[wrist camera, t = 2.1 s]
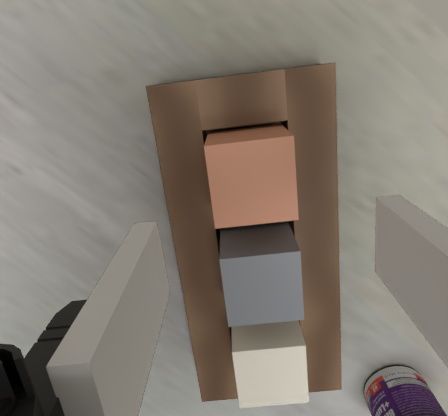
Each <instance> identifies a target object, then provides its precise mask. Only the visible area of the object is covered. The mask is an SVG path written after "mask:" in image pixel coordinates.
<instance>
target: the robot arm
mask: <svg viewBox="0 0 448 416" xmlns="http://www.w3.org/2000/svg"><path fill="white" fill-rule="evenodd" d="M375 272H376V274H377V275H378V276H379V278H380V279H381V280H382V282H383V283H384V284H385V286H386V287H387V288H388V290H389V291H390V292H391V293H392V295H393V296H394V297H395V299H396V300H397V301H398V303H399V304H400V305H401V307H402V308H403V309H404V311H405V312H406V313H407V315H408V316H409V317H410V319H411V320H412V321H413V323H414V324H415V325H416V327H417V328H418V329H419V331H420V332H421V333H422V335H423V336H424V337H425V339H426V340H427V341H428V343H429V344H430V345H431V347H432V348H433V349H434V350H435V352H436V353H437V354H438V356H439V357H440V358H441V360H442V361H443V362H444V364H445V365H446V366H447V368H448V228H447V227H446V226H444V225H443V224H441V223H440V222H438V221H437V220H436V219H434V218H433V217H431V216H430V215H428V214H427V213H425V212H424V211H423V210H421V209H420V208H418V207H417V206H415V205H414V204H412V203H411V202H410V201H408V200H407V199H405V198H404V197H402V196H401V195H392V196H383V197H376V226H375ZM169 295H170V288H169V282H168V277H167V272H166V267H165V261H164V256H163V251H162V245H161V240H160V235H159V230H158V224H157V221H152V222H143V223H134V225H133V227H132V228H131V230H130V231H129V233H128V235H127V236H126V238H125V240H124V241H123V243H122V244H121V246H120V248H119V249H118V251H117V253H116V254H115V256H114V257H113V259H112V261H111V262H110V264H109V265H108V267H107V269H106V270H105V272H104V274H103V275H102V277H101V278H100V280H99V282H98V283H97V285H96V286H95V288H94V290H93V291H92V293H91V295H90V296H89V298H88V299H87V300H80V301H72V302H70V303H69V304H68V305H67V306H65V307H64V308H63V309H61V310H60V311H59V312H58V313H56V314H55V316H54V317H53V319H52V320H51V321H50V323H49V324H48V326H47V327H46V330H45V331H43V333H42V334H41V335H40V337H39V338H38V342H37V343H35V344H34V345H33V347H32V348H31V349H30V351H29V352H28V354H27V355H26V356H25V358H23V355H22V353H21V350H20V349H19V348H17V347H16V346H14V345H9V344H0V416H138V414H139V411H140V407H141V403H142V399H143V395H144V391H145V387H146V384H147V380H148V376H149V372H150V368H151V364H152V360H153V356H154V353H155V349H156V345H157V341H158V337H159V333H160V329H161V326H162V322H163V318H164V314H165V310H166V306H167V302H168V299H169Z"/></svg>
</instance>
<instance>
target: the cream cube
mask: <svg viewBox="0 0 448 416" xmlns="http://www.w3.org/2000/svg"><path fill="white" fill-rule="evenodd" d="M231 328H232V356H233V363H234V371H235V378H236V385H237V393H238V400H239V407H240V408H250V407H262V406H273V405H285V404H297V403H309V393H308V376H307V358H306V345H305V341H304V338H303V334H302V331H301V327H300V324H299V321H298V320H297V321H286V322H276V323H265V324H255V325H244V326H234V327H231Z"/></svg>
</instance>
